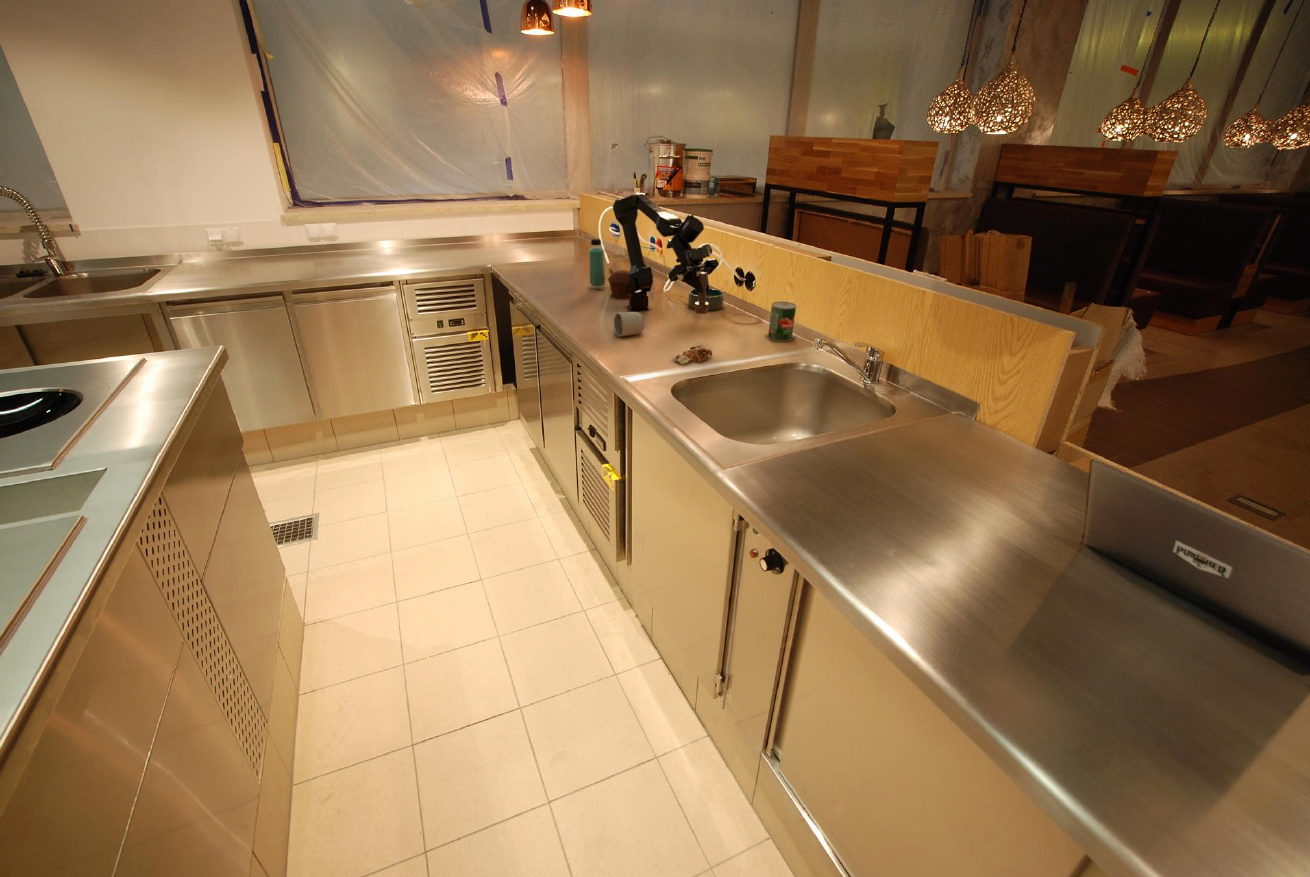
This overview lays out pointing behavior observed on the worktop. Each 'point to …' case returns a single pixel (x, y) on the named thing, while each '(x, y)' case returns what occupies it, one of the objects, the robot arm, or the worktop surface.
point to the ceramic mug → (628, 323)
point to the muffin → (619, 284)
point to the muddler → (702, 296)
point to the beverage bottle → (596, 264)
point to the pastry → (694, 354)
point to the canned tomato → (782, 321)
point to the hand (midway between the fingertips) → (705, 291)
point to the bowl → (707, 298)
